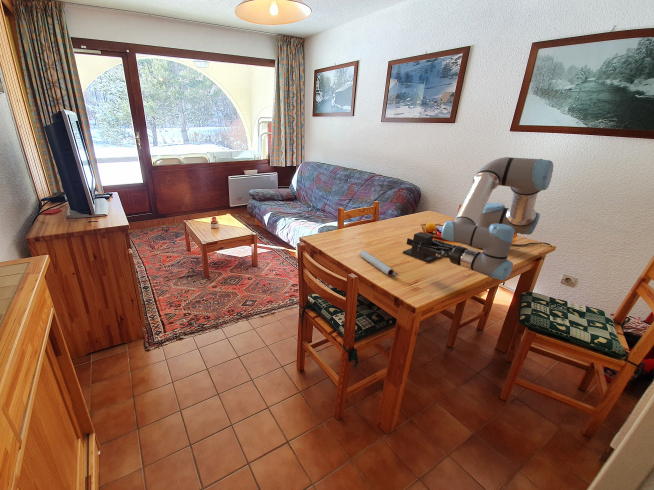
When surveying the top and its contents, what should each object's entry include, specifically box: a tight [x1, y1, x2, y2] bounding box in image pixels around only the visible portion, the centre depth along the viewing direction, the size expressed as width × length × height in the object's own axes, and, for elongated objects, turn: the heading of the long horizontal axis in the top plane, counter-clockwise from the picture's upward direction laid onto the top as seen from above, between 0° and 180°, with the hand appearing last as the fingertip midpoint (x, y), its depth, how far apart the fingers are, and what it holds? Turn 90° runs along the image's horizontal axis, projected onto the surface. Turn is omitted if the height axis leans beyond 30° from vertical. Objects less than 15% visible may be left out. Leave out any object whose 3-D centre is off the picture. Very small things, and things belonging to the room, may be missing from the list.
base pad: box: [402, 247, 438, 263], centre depth 160 cm, size 18×14×3 cm
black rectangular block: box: [410, 231, 434, 261], centre depth 135 cm, size 5×6×10 cm
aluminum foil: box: [359, 250, 398, 277], centre depth 147 cm, size 23×7×3 cm, turn 19°
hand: (411, 239), depth 138 cm, fingers closed on black rectangular block, 5 cm apart
